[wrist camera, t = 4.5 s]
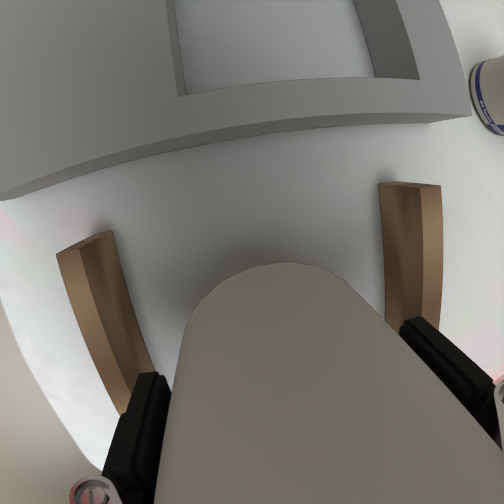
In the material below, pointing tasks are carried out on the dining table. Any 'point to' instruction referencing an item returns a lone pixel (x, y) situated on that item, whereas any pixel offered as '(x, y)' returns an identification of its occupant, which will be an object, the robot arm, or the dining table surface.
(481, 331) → the dining table surface
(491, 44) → the dining table surface
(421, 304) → the cubby
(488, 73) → the energy drink
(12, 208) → the dining table surface
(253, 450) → the can
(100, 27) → the hole board
